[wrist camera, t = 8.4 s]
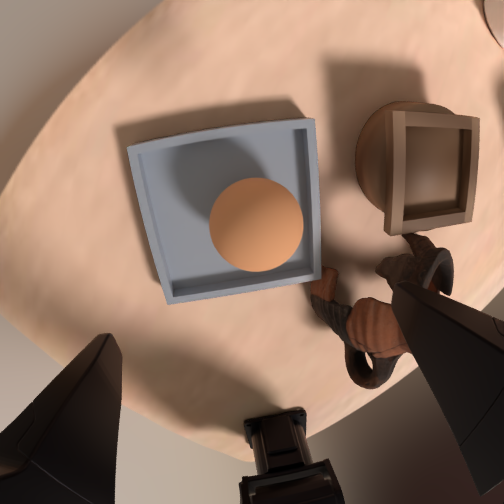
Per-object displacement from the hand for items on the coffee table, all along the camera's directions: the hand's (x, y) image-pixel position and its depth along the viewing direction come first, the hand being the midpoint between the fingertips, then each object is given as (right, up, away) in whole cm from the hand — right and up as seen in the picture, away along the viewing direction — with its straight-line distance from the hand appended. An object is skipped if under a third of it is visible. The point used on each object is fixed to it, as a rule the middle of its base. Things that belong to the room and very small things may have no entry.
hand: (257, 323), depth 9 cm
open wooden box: (+10, +8, +9) cm, 16 cm away
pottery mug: (+9, -1, +14) cm, 17 cm away
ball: (0, +4, +7) cm, 8 cm away
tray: (-1, +5, +10) cm, 11 cm away
